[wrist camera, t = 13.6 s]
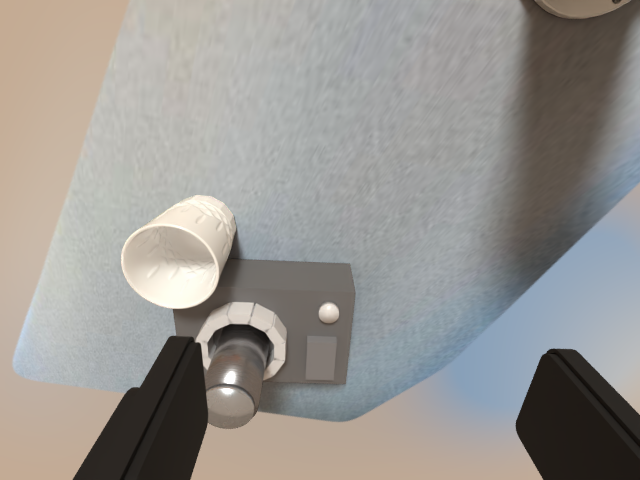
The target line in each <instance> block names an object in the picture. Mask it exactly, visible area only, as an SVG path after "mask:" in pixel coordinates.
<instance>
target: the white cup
mask: <svg viewBox="0 0 640 480" xmlns="http://www.w3.org/2000/svg"><path fill="white" fill-rule="evenodd" d="M235 232H236V224H235V220H234V215H233V214H232V213H231V211H230V210H229V209H228V207H227V206H226V205H225V204H224V203H222V202H221V201H219V200H217V199H215V198H213V197H211V196H202V195H195V196H192V197H190V198H187V199H184V200H182V201H181V202H180V203H178V204H176V205H174V206H172V207H171V208H169V209H168V210H166V211H165V212H163V213H161V214H160V215H159V216H157V217H156V218H154V219H153V220H152V221H150V222H149V223H147V224H146V225H144V226H143V227H142V228H140V229H139V230H137V231H136V232H134V233H133V234H132V235H131V236H130V237H129V238H128V240H127V241H126V243H125V244H124V247H123V250H122V254H121V265H122V270H123V273H124V276H125V278H126V280H127V281H128V283H129V284H130V286H131V287H132V288H133V289H134V290H135V291H136V292H137V293H138V294H139V295H140V296H141V297H143V298H144V299H146V300H147V301H149V302H151V303H153V304H156V305H158V306H161V307H165V308H171V309H185V308H190V307H194V306H196V305H199V304H201V303H202V302H204V301H205V300H207V299H208V298H209V297H210V296H211V295H212V293H213V292H214V290H215V289H216V287H217V284H218V281H219V279H220V276H221V274H222V271H223V269H224V266H225V264H226V261H227V259H228V256H229V253H230V250H231V247H232V242H233V239H234V236H235Z"/></svg>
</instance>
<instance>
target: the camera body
mask: <svg viewBox="0 0 640 480" xmlns="http://www.w3.org/2000/svg"><path fill="white" fill-rule="evenodd" d="M354 302H355V287H354V282H353V277H352V272H351V266H350V264H344V263H319V262H294V261H270V260H245V259H227V261H226V264H225V266H224V269H223V271H222V274H221V276H220V279H219V281H218V284H217V287H216V289H215V290H214V292H213V293H212V295H211V296H210V297H209V298H208V299H207V300H205V301H204V302H202V303H201V304H199V305H196V306H194V307H190V308H185V309H173V313H174V320H175V328H176V335H177V336H190V337H193V338H194V340H195V342H199V343H201V348H202V358H203V367H204V377H205V375H206V373H207V370H208V367H209V365H210V362H211V360H212V357H213V354H214V352H215V349H216V346H217V344H218V341H219V338H220V336H221V333H222V330H223V328H224V326H226V325H229V324H249V325H251V326H253V327H256V328H258V329H260V330H262V331H264V332H265V333H266V334H267V336H268V337H269V339H270V344H269V349H268V355H267V361H266V366H265V372H264V378H263V382H294V383H328V384H346V375H347V366H348V357H349V348H350V338H351V329H352V320H353V311H354Z"/></svg>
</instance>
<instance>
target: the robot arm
mask: <svg viewBox="0 0 640 480" xmlns="http://www.w3.org/2000/svg"><path fill="white" fill-rule="evenodd" d="M534 1H535V2H536V3H537V4H538V5H539V6H540V7H542V8H543V9H544V10H545V11H547V12H549V13H551V14H553V15H555V16H557V17H562V18H567V19H586V18H590V17H595V16H599V15H602V14H605V13H608V12H610V11H613V10H615V9H617V8H619V7H621V6H622V5H624V4H626V3H628V2H629V1H631V0H534ZM207 423H208V405H207V396H206V386H205V377H204V367H203V358H202V348H201V343H199V342H195V340H194V338H193V337H190V336H170V337H169V338H168V340H167V342H166V343H165V345H164V347H163V349H162V350H161V352H160V354H159V355H158V357H157V359H156V361H155V362H154V364H153V366H152V368H151V369H150V371H149V373H148V375H147V376H146V378H145V380H144V381H143V383H142V385H141V387H140V388H138V387H134V388H131V389H129V390H128V391H127V392H126V394H125V395H124V397H123V398H122V400H121V401H120V403H119V405H118V406H117V408H116V410H115V411H114V413H113V414H112V416H111V418H110V420H109V421H108V423H107V424H106V426H105V428H104V429H103V431H102V432H101V435H100V436H99V437H98V439H97V441H96V442H95V444H94V445H93V447H92V449H91V451H90V452H89V454H88V455H87V457H86V459H85V460H84V462H83V464H82V465H81V467H80V468H79V470H78V472H77V473H76V475H75V477H74V478H73V480H190V479H191V475H192V472H193V469H194V466H195V463H196V459H197V456H198V453H199V450H200V447H201V444H202V441H203V438H204V434H205V431H206V428H207ZM516 431H517V434H518V436H519V438H520V440H521V442H522V443H523V445H524V447H525V449H526V450H527V452H528V454H529V456H530V457H531V459H532V461H533V463H534V464H535V466H536V468H537V469H538V471H539V473H540V475H541V476H542V478H543V480H640V415H639V414H638V413H637V412H636V411H635V410H634V409H633V408H632V407H631V406H630V405H629V403H628V402H627V401H626V400H625V399H624V398H623V397H622V396H621V395H620V394H619V393H617V391H616V390H615V389H614V388H613V387H612V386H611V385H610V384H609V383H608V382H607V381H606V380H605V379H604V378H603V377H602V376H601V375H600V374H599V373H598V372H597V371H596V370H595V369H594V368H593V367H592V366H591V365H590V364H589V363H588V362H587V361H586V360H585V359H584V358H583V357H582V355H581V354H579V353H578V352H577V351H576V350H573V349H550V350H548V351H547V353H546V354H544V355H542V357H541V359H540V361H539V364H538V366H537V369H536V372H535V374H534V377H533V380H532V382H531V384H530V387H529V390H528V392H527V395H526V397H525V400H524V402H523V405H522V408H521V410H520V413H519V415H518V418H517V420H516Z"/></svg>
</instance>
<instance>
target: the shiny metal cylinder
mask: <svg viewBox="0 0 640 480" xmlns="http://www.w3.org/2000/svg"><path fill="white" fill-rule="evenodd" d="M269 344H270V339H269V337H268V336H267V334H266V333H265V332H264V331H262V330H260V329H258V328H256V327H253V326H251V325H249V324H229V325H226V326H224V328H223V330H222V333H221V336H220V338H219V341H218V344H217V346H216V349H215V352H214V354H213V357H212V360H211V362H210V365H209V367H208V370H207V373H206V375H205V386H206V396H207V405H208V423H209V424H211V425H213V426H216V427H219V428H224V429H233V428H238V427H241V426H243V425H245V424H247V423H248V422H249V421H250V420H251V418H252V417H253V416H254V415H255V414H256V412H257V410H258V406H259V401H260V395H261V389H262V383H263V378H264V372H265V366H266V361H267V355H268V349H269Z"/></svg>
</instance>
